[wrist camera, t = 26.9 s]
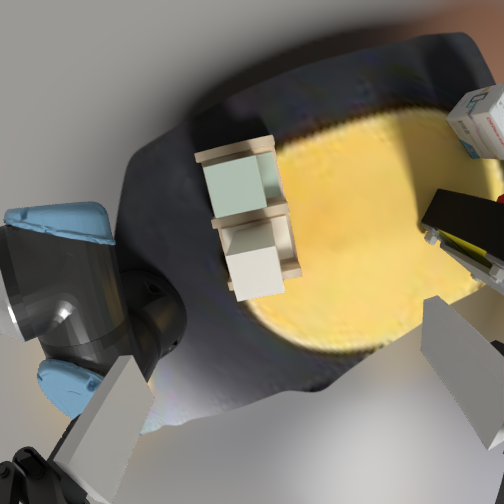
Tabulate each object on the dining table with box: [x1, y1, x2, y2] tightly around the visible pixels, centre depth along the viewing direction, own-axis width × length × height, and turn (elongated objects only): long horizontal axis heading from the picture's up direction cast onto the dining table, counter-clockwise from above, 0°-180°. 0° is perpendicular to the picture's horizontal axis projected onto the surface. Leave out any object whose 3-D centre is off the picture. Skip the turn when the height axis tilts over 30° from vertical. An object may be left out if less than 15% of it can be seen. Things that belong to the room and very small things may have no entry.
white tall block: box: [225, 223, 285, 301], centre depth 35 cm, size 5×5×12 cm
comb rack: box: [195, 135, 302, 291], centre depth 39 cm, size 10×19×4 cm, turn 13°
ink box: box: [445, 83, 504, 160], centre depth 29 cm, size 8×8×12 cm
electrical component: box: [421, 189, 504, 295], centre depth 31 cm, size 18×10×20 cm, turn 62°
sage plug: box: [203, 155, 267, 218], centre depth 33 cm, size 5×5×12 cm
